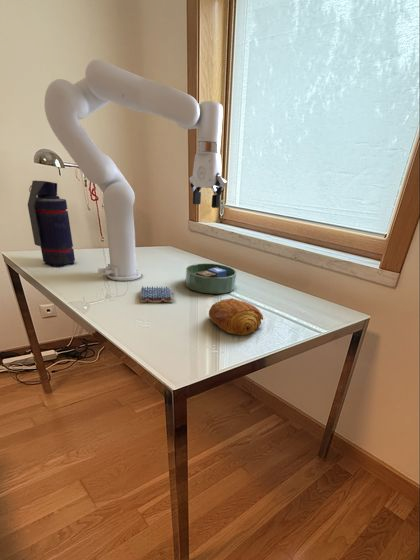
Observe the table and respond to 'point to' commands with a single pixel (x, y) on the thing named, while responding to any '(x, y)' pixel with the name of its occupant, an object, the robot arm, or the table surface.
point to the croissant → (235, 316)
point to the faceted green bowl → (210, 279)
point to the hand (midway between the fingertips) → (205, 205)
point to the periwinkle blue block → (218, 272)
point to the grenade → (50, 223)
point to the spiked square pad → (156, 294)
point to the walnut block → (206, 274)
